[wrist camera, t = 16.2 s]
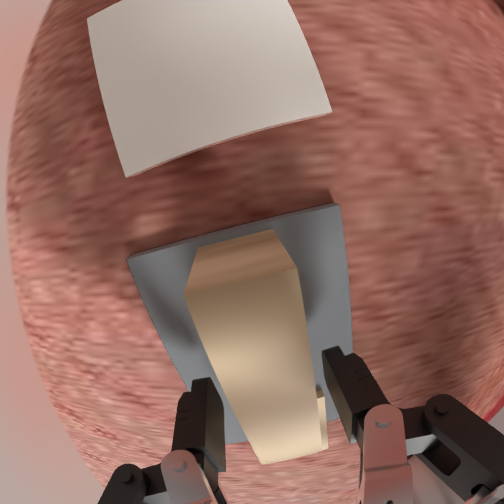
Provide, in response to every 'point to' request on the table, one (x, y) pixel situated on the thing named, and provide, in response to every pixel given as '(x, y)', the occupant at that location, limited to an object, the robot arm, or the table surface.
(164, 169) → the table surface
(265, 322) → the beige wooden bar
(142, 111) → the tile
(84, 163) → the table surface
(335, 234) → the mat
